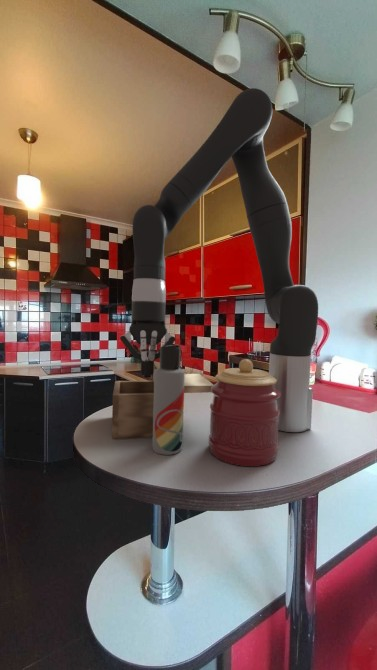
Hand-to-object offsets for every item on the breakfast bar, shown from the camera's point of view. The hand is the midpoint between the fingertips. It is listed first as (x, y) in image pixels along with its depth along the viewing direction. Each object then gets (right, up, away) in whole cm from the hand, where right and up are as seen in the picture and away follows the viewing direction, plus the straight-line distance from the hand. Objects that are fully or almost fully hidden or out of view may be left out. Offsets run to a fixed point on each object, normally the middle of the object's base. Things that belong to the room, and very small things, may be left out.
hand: (147, 376), depth 69 cm
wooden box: (-2, -11, 0) cm, 11 cm away
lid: (+8, -2, +2) cm, 8 cm away
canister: (+20, -13, -12) cm, 26 cm away
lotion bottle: (+5, -12, -11) cm, 18 cm away
